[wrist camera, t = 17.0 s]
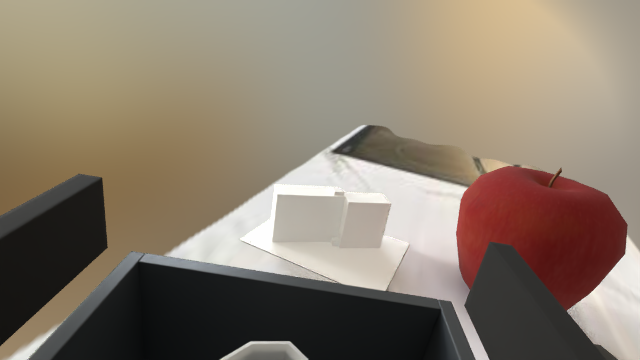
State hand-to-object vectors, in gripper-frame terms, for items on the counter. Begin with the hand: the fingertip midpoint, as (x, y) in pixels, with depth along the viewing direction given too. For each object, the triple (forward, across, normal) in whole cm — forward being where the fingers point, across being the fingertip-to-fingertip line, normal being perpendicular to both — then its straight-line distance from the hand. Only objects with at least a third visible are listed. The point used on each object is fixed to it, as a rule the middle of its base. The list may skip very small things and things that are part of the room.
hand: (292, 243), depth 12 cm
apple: (+17, +19, -13) cm, 29 cm away
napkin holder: (+22, +3, -14) cm, 26 cm away
